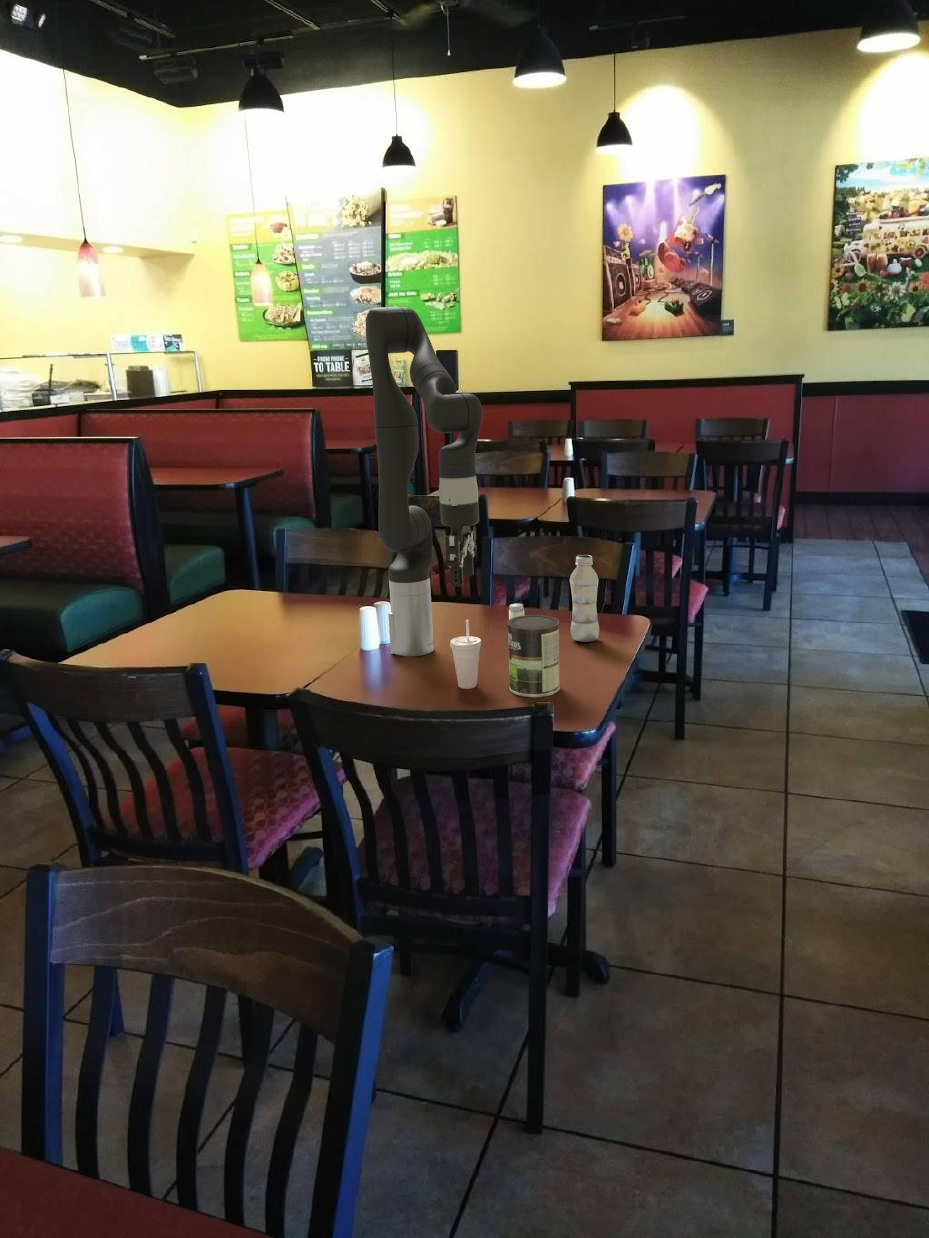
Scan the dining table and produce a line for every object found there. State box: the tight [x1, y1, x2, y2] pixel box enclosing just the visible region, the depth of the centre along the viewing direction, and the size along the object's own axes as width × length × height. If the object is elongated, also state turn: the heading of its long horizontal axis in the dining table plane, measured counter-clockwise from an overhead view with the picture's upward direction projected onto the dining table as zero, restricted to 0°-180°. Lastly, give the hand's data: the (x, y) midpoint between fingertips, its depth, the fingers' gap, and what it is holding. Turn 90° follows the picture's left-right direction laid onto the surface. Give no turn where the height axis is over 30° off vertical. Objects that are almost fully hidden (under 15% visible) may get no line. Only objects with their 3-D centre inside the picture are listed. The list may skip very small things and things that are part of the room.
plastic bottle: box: [569, 554, 600, 643], centre depth 214 cm, size 6×7×20 cm
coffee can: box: [506, 614, 561, 698], centre depth 186 cm, size 10×10×14 cm
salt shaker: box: [508, 603, 525, 621], centre depth 220 cm, size 4×4×8 cm
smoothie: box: [449, 619, 482, 690], centre depth 189 cm, size 6×6×14 cm
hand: (463, 581), depth 185 cm, fingers open, 8 cm apart
